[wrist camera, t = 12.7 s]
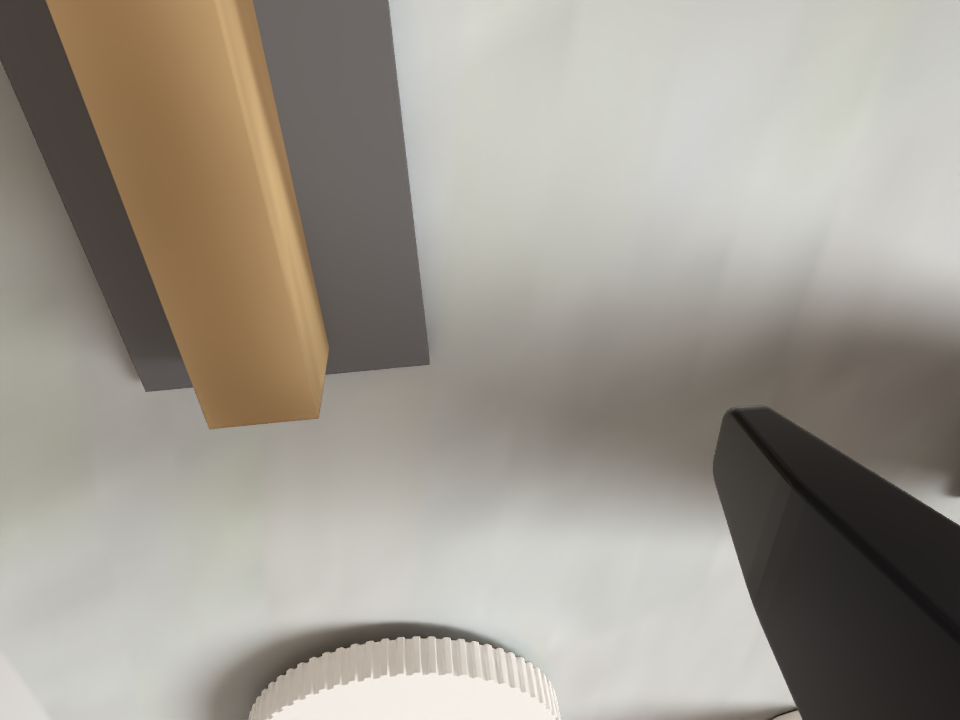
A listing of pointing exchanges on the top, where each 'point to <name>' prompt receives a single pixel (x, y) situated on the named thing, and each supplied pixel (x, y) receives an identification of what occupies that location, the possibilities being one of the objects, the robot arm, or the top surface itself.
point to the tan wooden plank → (206, 194)
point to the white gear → (410, 684)
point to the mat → (313, 165)
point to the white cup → (789, 716)
